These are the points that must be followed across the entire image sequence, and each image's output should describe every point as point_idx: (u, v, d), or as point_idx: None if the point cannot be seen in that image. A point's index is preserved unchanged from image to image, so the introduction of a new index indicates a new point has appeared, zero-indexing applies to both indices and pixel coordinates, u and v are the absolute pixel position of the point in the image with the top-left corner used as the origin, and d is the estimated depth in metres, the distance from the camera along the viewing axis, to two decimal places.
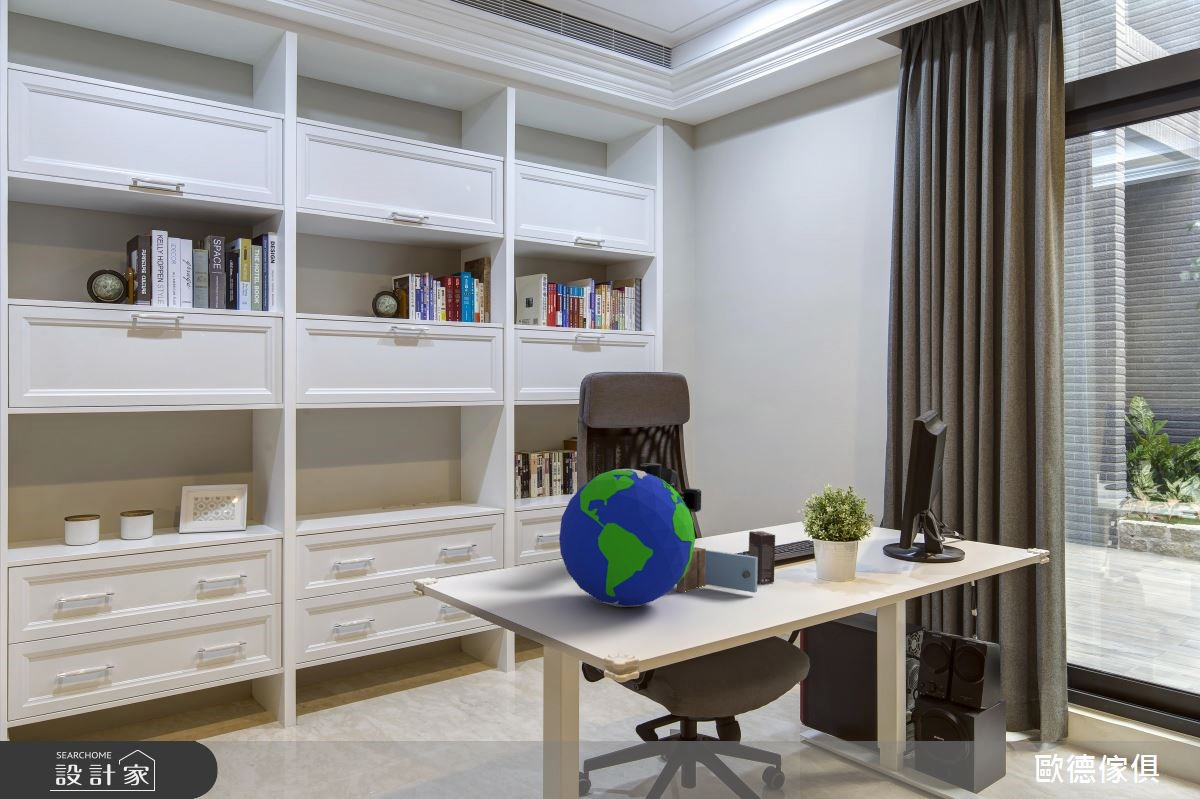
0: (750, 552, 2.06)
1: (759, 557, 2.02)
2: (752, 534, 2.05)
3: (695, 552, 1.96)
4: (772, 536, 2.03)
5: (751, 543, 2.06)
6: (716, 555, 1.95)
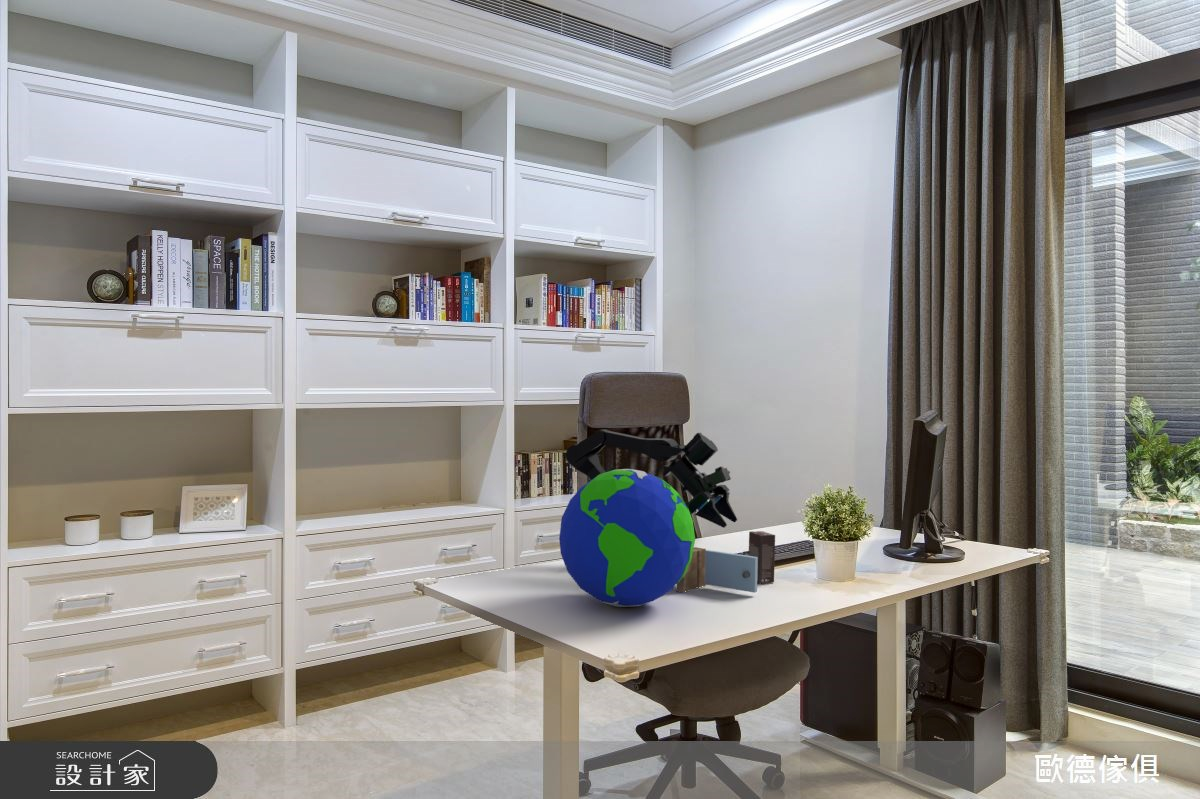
0: (750, 552, 2.06)
1: (759, 557, 2.02)
2: (752, 534, 2.05)
3: (695, 552, 1.96)
4: (772, 536, 2.03)
5: (751, 543, 2.06)
6: (716, 555, 1.95)
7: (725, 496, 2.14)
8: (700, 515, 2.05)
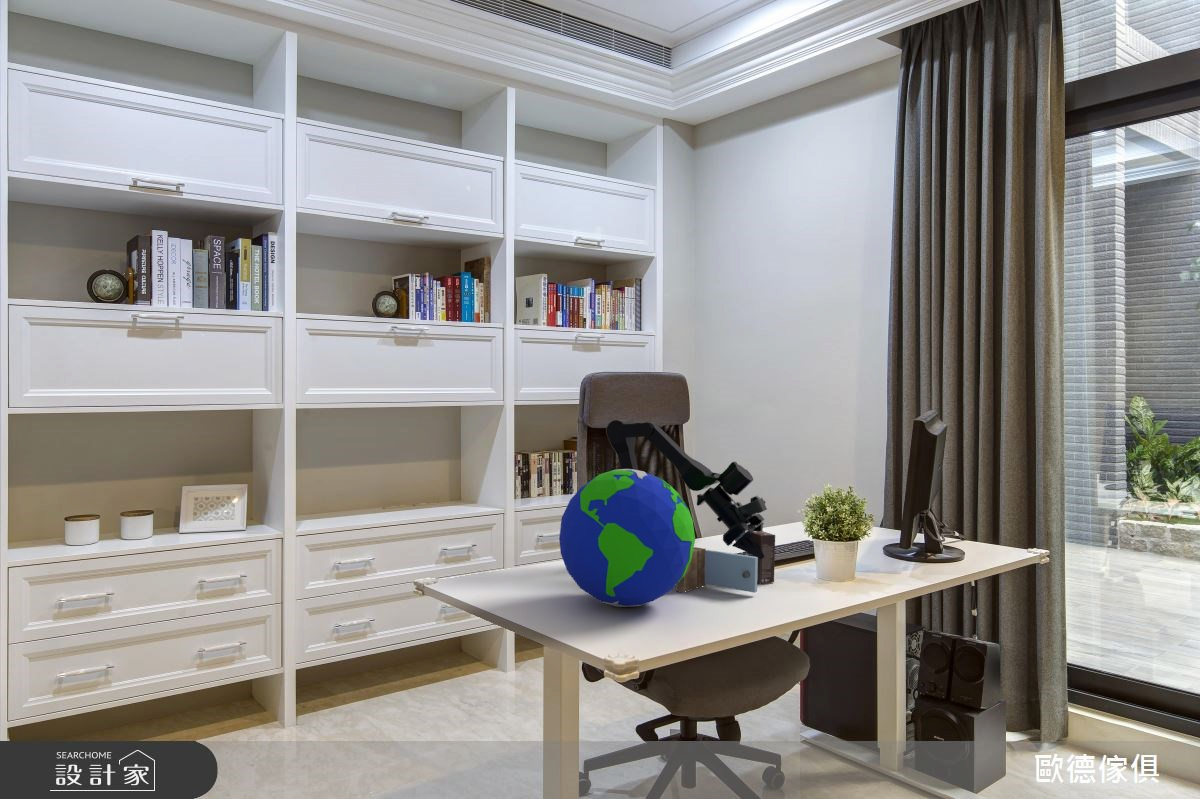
0: None
1: None
2: (752, 534, 2.05)
3: (695, 552, 1.96)
4: (772, 536, 2.03)
5: None
6: (716, 555, 1.95)
7: (759, 527, 2.09)
8: (737, 546, 2.02)
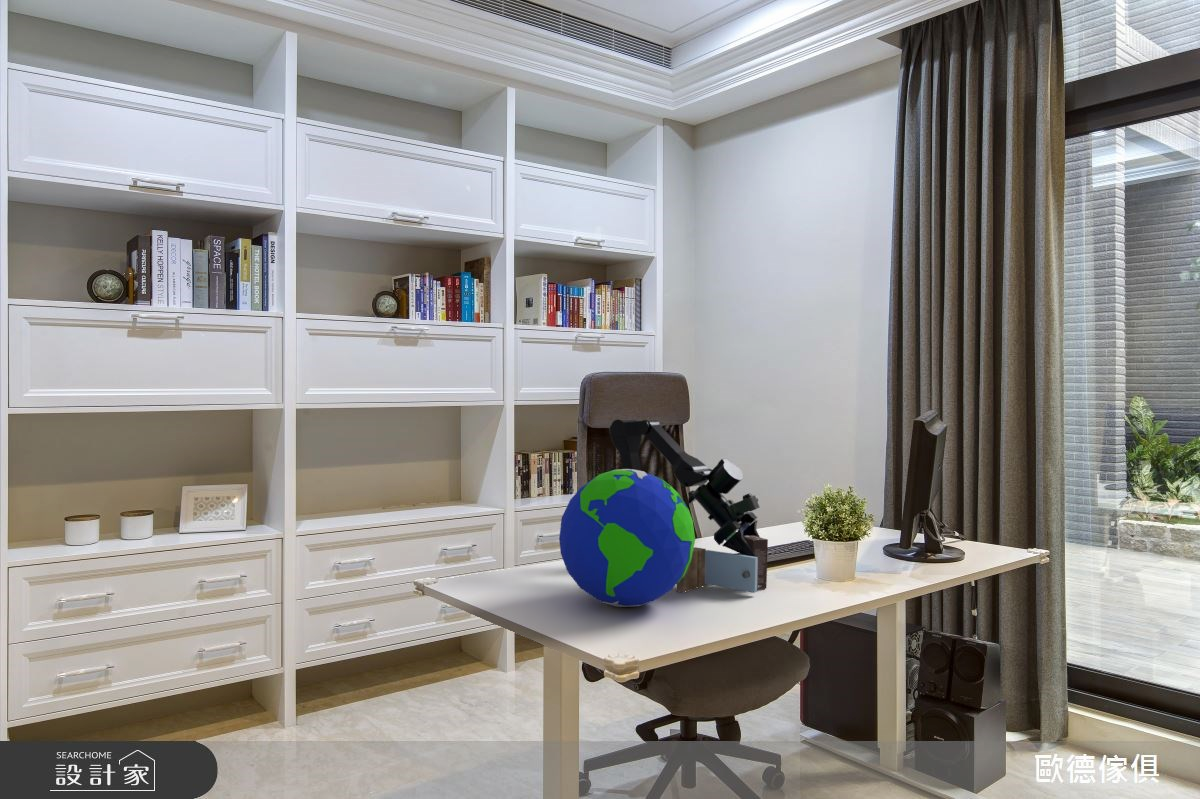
0: None
1: None
2: (744, 538, 1.99)
3: (695, 552, 1.96)
4: (765, 541, 1.97)
5: None
6: (716, 555, 1.95)
7: (753, 524, 2.04)
8: (728, 546, 1.94)
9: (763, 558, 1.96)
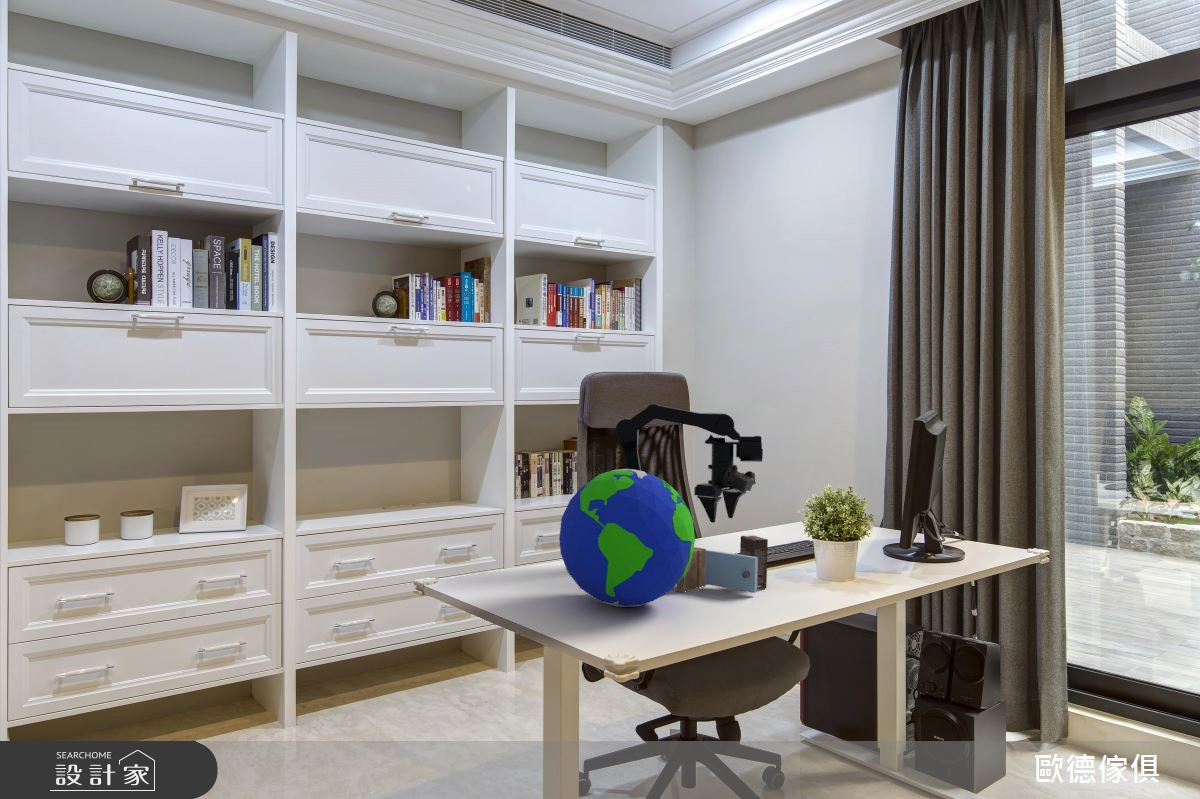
0: None
1: None
2: (744, 539, 1.99)
3: (695, 552, 1.96)
4: (765, 541, 1.97)
5: (743, 547, 1.99)
6: (716, 555, 1.95)
7: (738, 494, 2.20)
8: (701, 499, 2.14)
9: (763, 558, 1.96)
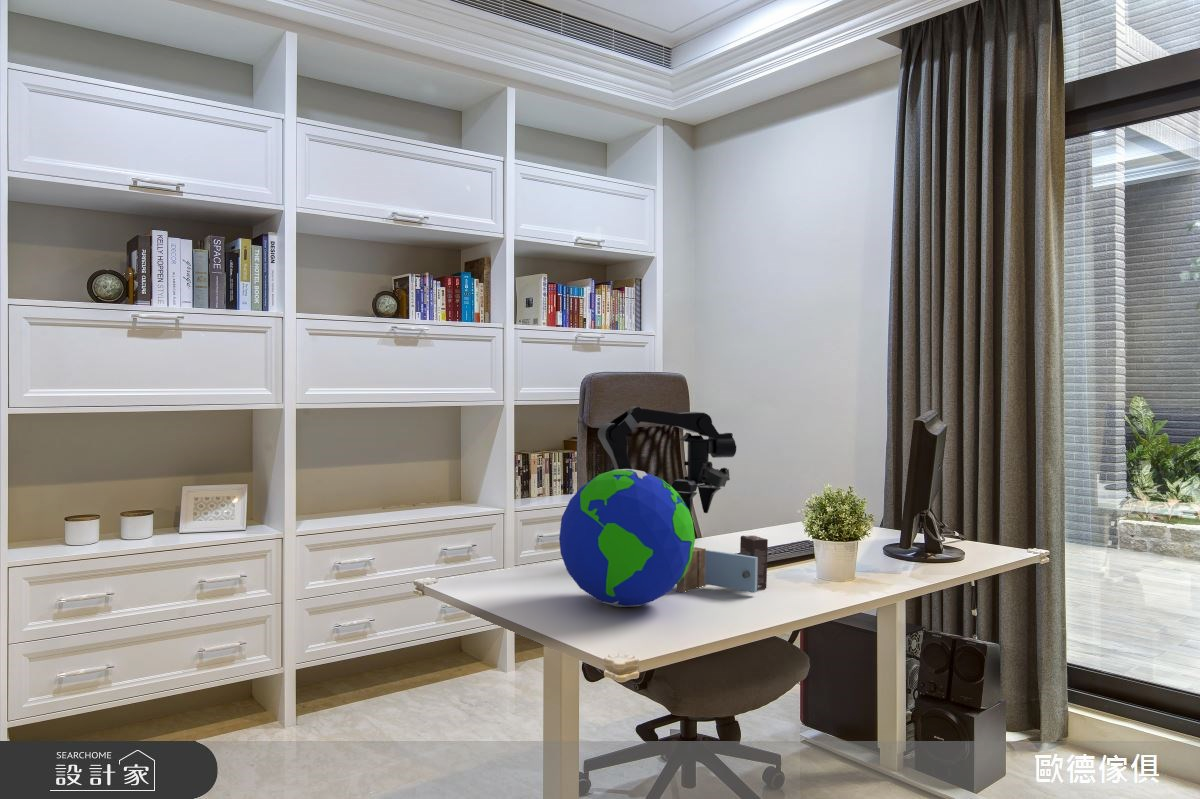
0: None
1: None
2: (744, 539, 1.99)
3: (695, 552, 1.96)
4: (765, 541, 1.97)
5: (743, 547, 1.99)
6: (716, 555, 1.95)
7: (713, 490, 2.28)
8: None
9: (763, 558, 1.96)
